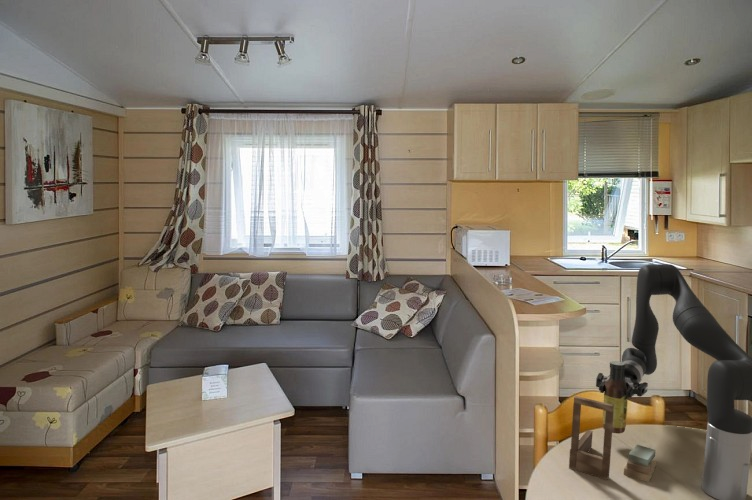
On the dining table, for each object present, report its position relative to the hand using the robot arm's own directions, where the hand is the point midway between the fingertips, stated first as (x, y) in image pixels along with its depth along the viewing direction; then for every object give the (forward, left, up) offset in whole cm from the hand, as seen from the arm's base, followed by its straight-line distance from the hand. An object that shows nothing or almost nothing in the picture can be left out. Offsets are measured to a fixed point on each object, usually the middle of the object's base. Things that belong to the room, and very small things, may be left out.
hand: (614, 392), depth 155 cm
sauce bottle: (0, -3, -12) cm, 12 cm away
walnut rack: (+1, +12, -16) cm, 20 cm away
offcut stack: (-10, +9, -17) cm, 21 cm away
